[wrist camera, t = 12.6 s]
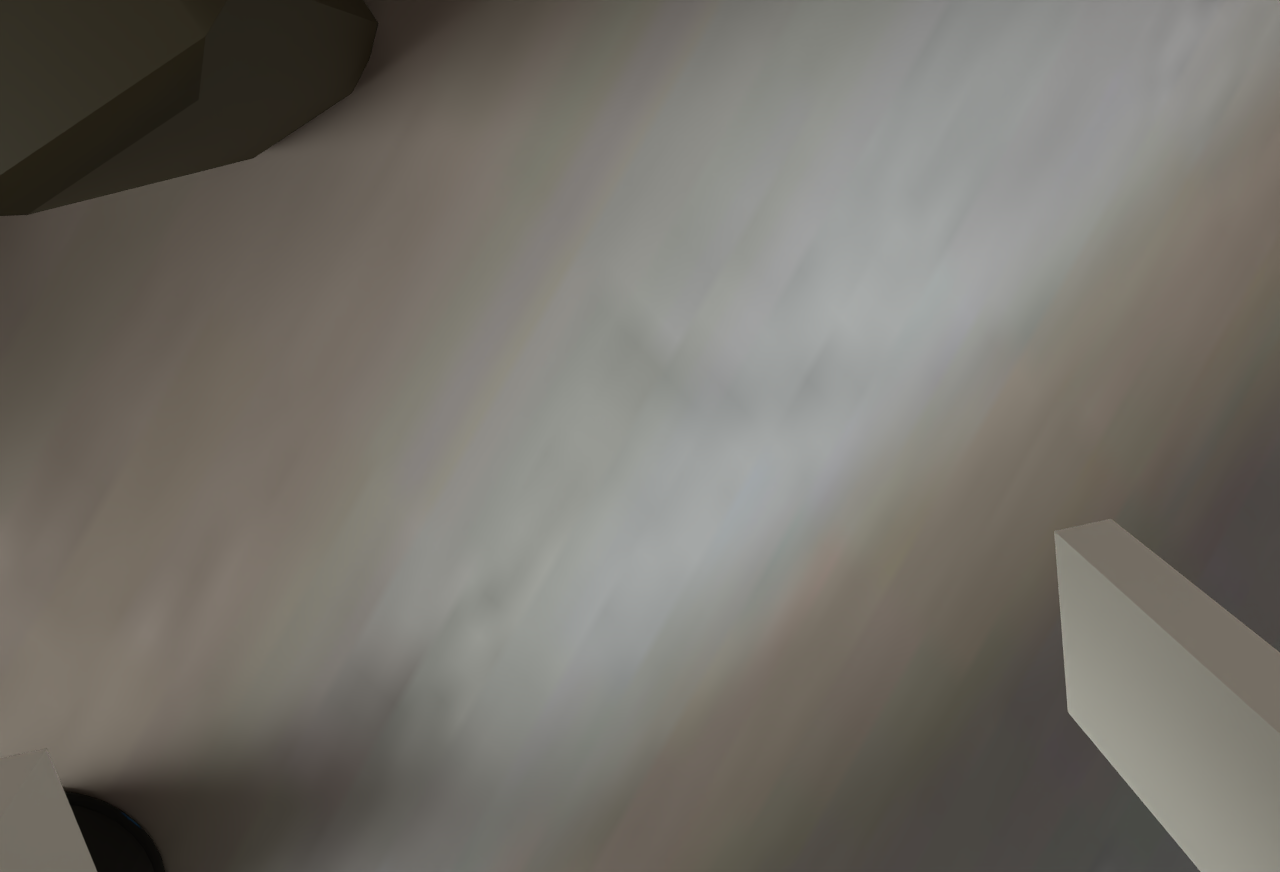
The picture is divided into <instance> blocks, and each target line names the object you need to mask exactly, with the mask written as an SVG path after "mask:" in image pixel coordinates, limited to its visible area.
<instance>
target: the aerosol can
mask: <svg viewBox="0 0 1280 872" xmlns="http://www.w3.org/2000/svg"><path fill="white" fill-rule="evenodd" d="M65 794H66V797H67V799H68V801H69V804H70V806H71V809H72V811H73V814H74V816H75V819H76V821H77V824H78V826H79V828H80V831H81V833H82V836H83V838H84V841H85V843H86V846H87V848H88V850H89V853H90V855H91V858H92V860H93V863H94V865H95V868H96V870H97V872H165V870H164V866H163V863H162V859H161V856H160V854H159V852H158V850H157V848H156V847H155V845H154V843H153V841H152V839H151V838H150V837H149V836H148V835H147V833H146V832H145V831H144V830H143V829H142V828H141V826H140V825H139V824H137V823H136V822H135V821H134V820H133V819H131V818H130V817H129V816H128V815H126V814H125V813H124V812H122V811H120V810H119V809H117V808H115V807H113V806H111V805H110V804H108V803H106V802H103V801H100V800H97V799H95V798H92V797H89V796H86V795H81V794H75V793H70V792H65Z"/></svg>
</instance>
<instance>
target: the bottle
mask: <svg viewBox="0 0 1280 872" xmlns="http://www.w3.org/2000/svg"><path fill="white" fill-rule="evenodd" d="M377 26H378V22H377V21H376V19H375V18H374V16H373V15H372V13H371V12H370V10H369V9H368V7H367V6H366V4H365V2H364V1H363V0H0V216H10V215H28V214H32V213H36V212H40V211H44V210H48V209H52V208H56V207H60V206H64V205H68V204H72V203H76V202H80V201H84V200H88V199H92V198H96V197H100V196H104V195H108V194H112V193H116V192H120V191H124V190H128V189H132V188H136V187H140V186H144V185H148V184H152V183H156V182H160V181H164V180H168V179H172V178H176V177H180V176H184V175H188V174H192V173H196V172H200V171H204V170H208V169H212V168H216V167H220V166H224V165H228V164H232V163H236V162H240V161H244V160H248V159H252V158H254V157H256V156H257V155H259V154H260V153H262V152H263V151H265V150H266V149H268V148H269V147H271V146H272V145H274V144H275V143H277V142H278V141H280V140H281V139H283V138H284V137H286V136H287V135H289V134H290V133H292V132H293V131H295V130H296V129H298V128H299V127H301V126H302V125H304V124H305V123H307V122H308V121H310V120H311V119H313V118H314V117H316V116H317V115H319V114H320V113H322V112H324V111H325V110H327V109H328V108H330V107H331V106H333V105H334V104H336V103H337V102H339V101H340V100H342V99H343V98H345V97H346V96H348V95H349V94H351V93H352V91H353V89H354V87H355V86H356V84H357V82H358V80H359V78H360V76H361V74H362V72H363V70H364V68H365V66H366V64H367V62H368V61H369V58H370V54H371V50H372V46H373V42H374V38H375V34H376V30H377Z"/></svg>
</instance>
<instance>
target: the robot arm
mask: <svg viewBox="0 0 1280 872" xmlns="http://www.w3.org/2000/svg"><path fill="white" fill-rule="evenodd" d="M1054 534H1055V548H1056V561H1057V574H1058V587H1059V600H1060V613H1061V627H1062V640H1063V653H1064V666H1065V679H1066V692H1067V706H1068V713H1069V714H1070V715H1071V716H1072V717H1073V719H1074V720H1075V721H1076V722H1077V723H1078V725H1079V726H1080V727H1081V728H1082V729H1083V731H1084V732H1085V733H1086V734H1087V735H1088V737H1089V738H1090V739H1091V740H1092V741H1093V743H1094V744H1095V745H1096V746H1097V748H1098V749H1099V750H1100V751H1101V752H1102V754H1103V755H1104V756H1105V757H1106V758H1107V760H1108V761H1109V762H1110V763H1111V764H1112V766H1113V767H1114V768H1115V769H1116V770H1117V772H1118V773H1119V774H1120V775H1121V776H1122V778H1123V779H1124V780H1125V781H1126V782H1127V784H1128V785H1129V786H1130V787H1131V788H1132V790H1133V791H1134V792H1135V793H1136V794H1137V796H1138V797H1139V798H1140V799H1141V800H1142V802H1143V803H1144V804H1145V805H1146V806H1147V808H1148V809H1149V810H1150V811H1151V812H1152V814H1153V815H1154V816H1155V817H1156V818H1157V820H1158V821H1159V822H1160V823H1161V824H1162V826H1163V827H1164V828H1165V829H1166V830H1167V832H1168V833H1169V834H1170V835H1171V836H1172V838H1173V839H1174V840H1175V841H1176V842H1177V844H1178V845H1179V846H1180V847H1181V848H1182V850H1183V851H1184V852H1185V853H1186V854H1187V856H1188V857H1189V858H1190V859H1191V860H1192V862H1193V863H1194V864H1195V865H1196V867H1197V868H1198V869H1199V870H1200V871H1201V872H1280V653H1279V652H1278V651H1277V650H1276V649H1274V648H1273V647H1272V646H1271V645H1269V644H1268V643H1267V642H1266V641H1264V640H1263V639H1262V638H1261V637H1259V636H1258V635H1257V634H1256V633H1254V632H1253V631H1252V630H1250V629H1249V628H1248V627H1247V626H1245V625H1244V624H1243V623H1242V622H1240V621H1239V620H1238V619H1237V618H1235V617H1234V616H1233V615H1232V614H1230V613H1229V612H1228V611H1227V610H1225V609H1224V608H1223V607H1222V606H1220V605H1219V604H1218V603H1216V602H1215V601H1214V600H1213V599H1211V598H1210V597H1209V596H1208V595H1206V594H1205V593H1204V592H1203V591H1201V590H1200V589H1199V588H1198V587H1196V586H1195V585H1194V584H1193V583H1191V582H1190V581H1189V580H1187V579H1186V578H1185V577H1184V576H1182V575H1181V574H1180V573H1179V572H1177V571H1176V570H1175V569H1174V568H1172V567H1171V566H1170V565H1169V564H1167V563H1166V562H1165V561H1164V560H1162V559H1161V558H1160V557H1158V556H1157V555H1156V554H1155V553H1153V552H1152V551H1151V550H1150V549H1148V548H1147V547H1146V546H1145V545H1143V544H1142V543H1141V542H1140V541H1138V540H1137V539H1136V538H1135V537H1133V536H1132V535H1131V534H1129V533H1128V532H1127V531H1126V530H1124V529H1123V528H1122V527H1121V526H1119V525H1118V524H1117V523H1116V522H1114V521H1113V520H1112V519H1108V520H1103V521H1099V522H1094V523H1089V524H1085V525H1080V526H1076V527H1071V528H1066V529H1062V530H1057V531H1054ZM0 872H97V870H96V868H95V865H94V863H93V860H92V858H91V855H90V853H89V850H88V848H87V846H86V843H85V841H84V838H83V836H82V833H81V831H80V828H79V826H78V824H77V821H76V819H75V816H74V814H73V811H72V809H71V806H70V804H69V801H68V799H67V797H66V794H65V792H64V789H63V787H62V784H61V782H60V779H59V777H58V775H57V772H56V770H55V767H54V765H53V762H52V760H51V757H50V755H49V753H48V750H47V748H46V749H41V750H36V751H32V752H27V753H23V754H18V755H13V756H9V757H4V758H0Z"/></svg>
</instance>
